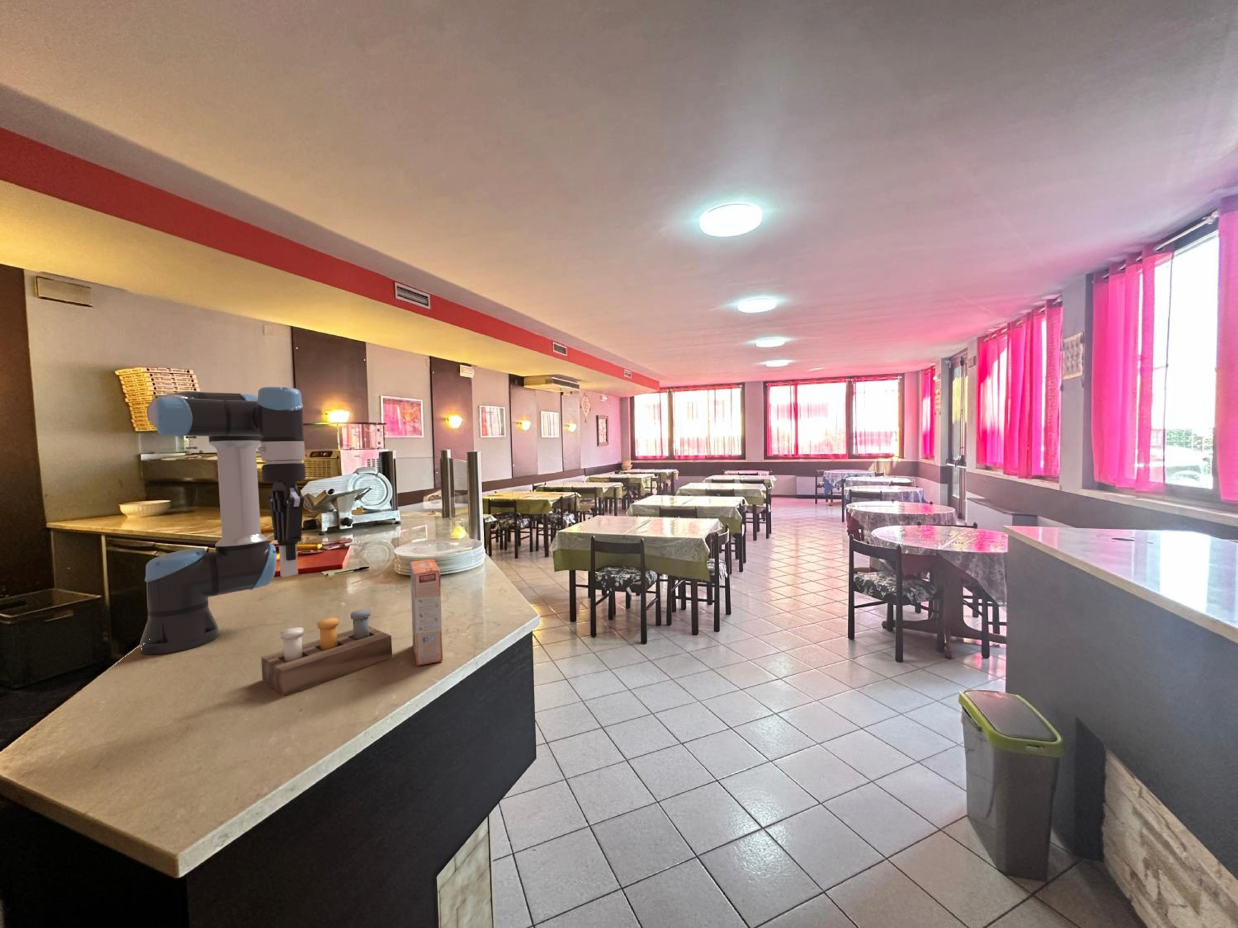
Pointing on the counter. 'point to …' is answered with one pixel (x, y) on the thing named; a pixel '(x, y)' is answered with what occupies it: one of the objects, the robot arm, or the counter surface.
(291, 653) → the ivory plug
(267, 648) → the counter surface
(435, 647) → the cracker box
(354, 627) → the slate plug
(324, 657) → the socket board
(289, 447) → the robot arm
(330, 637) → the orange plug
